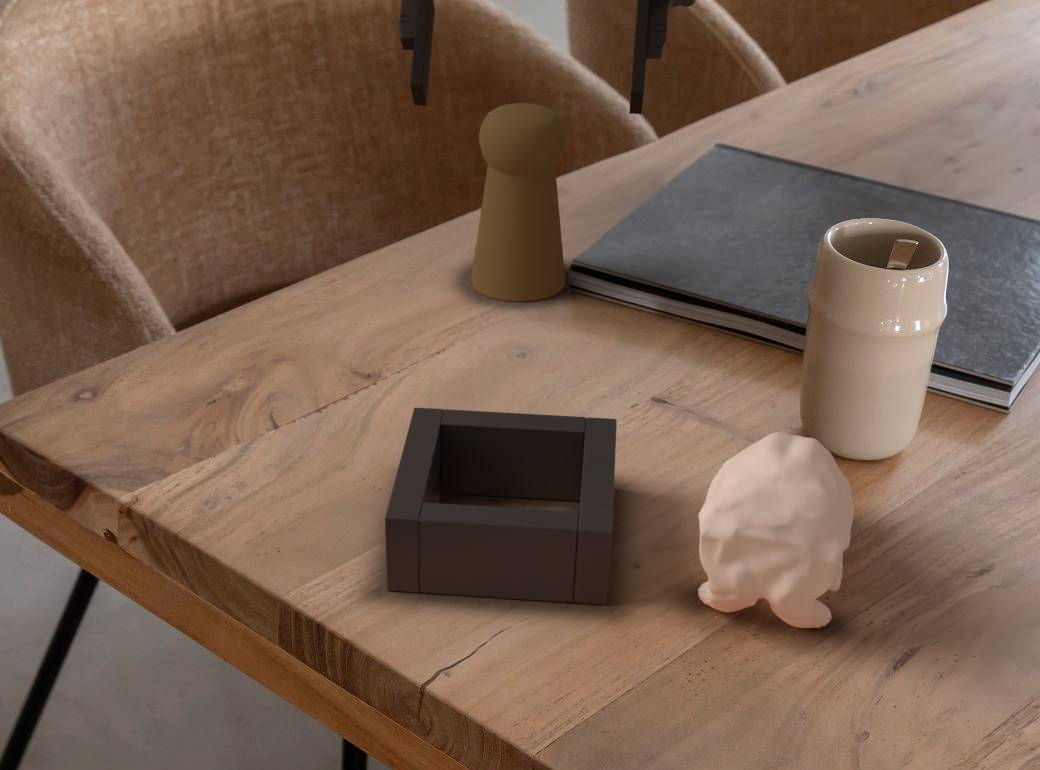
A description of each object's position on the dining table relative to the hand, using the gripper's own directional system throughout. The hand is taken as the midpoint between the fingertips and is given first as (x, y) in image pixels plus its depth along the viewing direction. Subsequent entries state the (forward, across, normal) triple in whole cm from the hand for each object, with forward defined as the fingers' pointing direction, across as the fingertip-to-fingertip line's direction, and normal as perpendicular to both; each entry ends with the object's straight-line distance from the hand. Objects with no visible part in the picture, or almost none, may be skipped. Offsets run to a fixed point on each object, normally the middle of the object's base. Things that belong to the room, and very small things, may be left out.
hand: (526, 100), depth 91 cm
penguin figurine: (+32, +14, -18) cm, 39 cm away
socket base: (+31, +2, -16) cm, 35 cm away
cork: (+10, 0, +4) cm, 11 cm away
